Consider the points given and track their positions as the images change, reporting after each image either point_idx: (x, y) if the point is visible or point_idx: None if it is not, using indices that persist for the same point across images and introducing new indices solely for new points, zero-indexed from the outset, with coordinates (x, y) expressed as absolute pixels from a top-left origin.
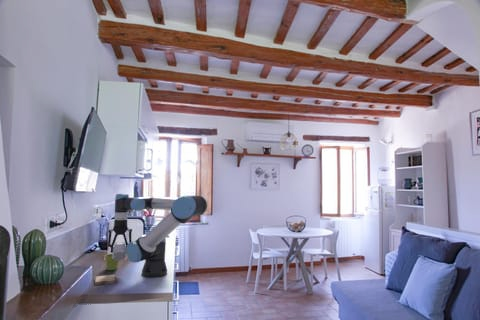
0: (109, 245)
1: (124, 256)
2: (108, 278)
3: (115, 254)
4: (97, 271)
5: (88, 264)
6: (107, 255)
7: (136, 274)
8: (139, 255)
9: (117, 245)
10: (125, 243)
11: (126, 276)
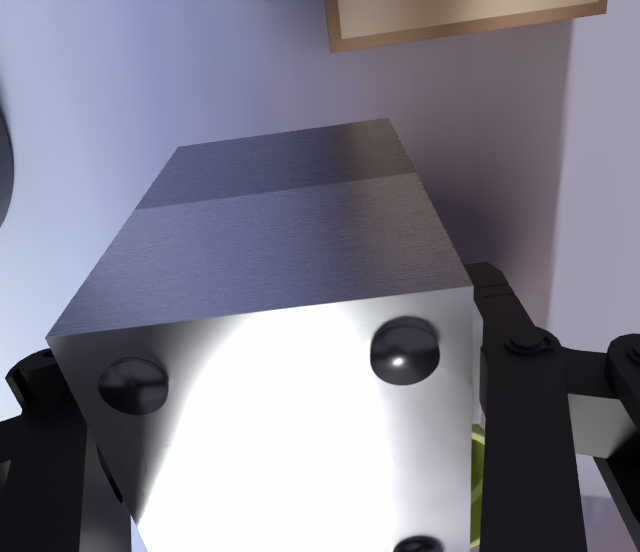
0: (635, 357)
1: (171, 165)
2: None
3: (377, 157)
4: (536, 320)
5: (598, 524)
6: (475, 527)
7: (77, 137)
8: None
9: (356, 284)
10: (126, 516)
11: (189, 63)
